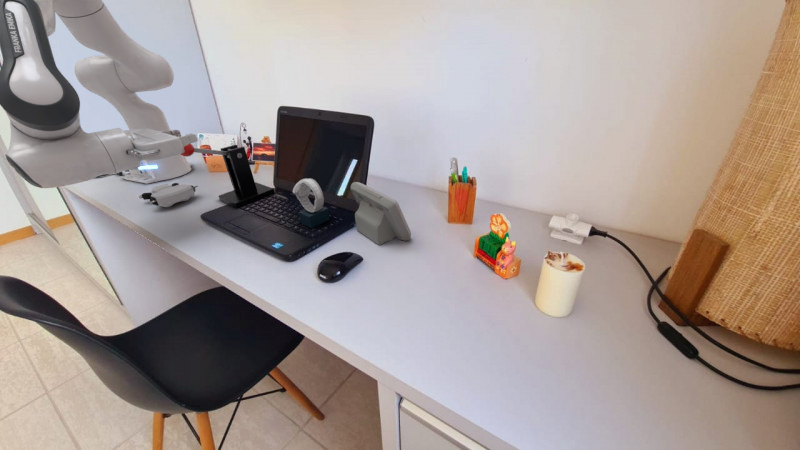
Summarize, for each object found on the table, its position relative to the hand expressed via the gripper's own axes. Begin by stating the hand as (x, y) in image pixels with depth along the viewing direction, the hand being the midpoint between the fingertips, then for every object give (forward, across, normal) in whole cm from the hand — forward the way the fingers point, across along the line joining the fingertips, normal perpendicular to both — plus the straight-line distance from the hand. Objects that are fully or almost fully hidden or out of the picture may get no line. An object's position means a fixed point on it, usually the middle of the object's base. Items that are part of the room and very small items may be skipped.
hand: (187, 135), depth 80 cm
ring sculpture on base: (+11, -30, +21) cm, 38 cm away
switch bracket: (+10, 0, +21) cm, 23 cm away
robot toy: (-5, +18, +21) cm, 28 cm away
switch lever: (+3, 0, +7) cm, 8 cm away
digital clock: (+16, -47, +21) cm, 54 cm away
